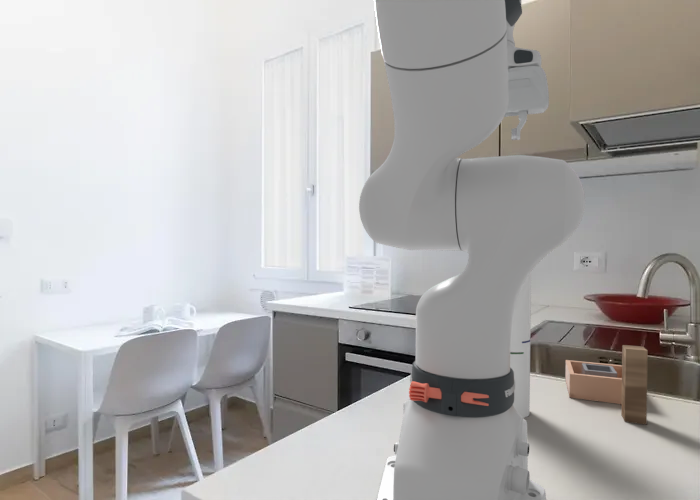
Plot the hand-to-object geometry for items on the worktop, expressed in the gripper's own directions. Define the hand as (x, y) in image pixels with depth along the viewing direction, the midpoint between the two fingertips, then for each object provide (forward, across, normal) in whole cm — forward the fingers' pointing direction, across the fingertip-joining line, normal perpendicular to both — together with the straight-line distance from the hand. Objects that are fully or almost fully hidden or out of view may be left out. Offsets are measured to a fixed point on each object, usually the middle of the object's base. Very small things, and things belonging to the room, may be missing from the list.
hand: (488, 141), depth 81 cm
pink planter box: (+48, +20, +13) cm, 54 cm away
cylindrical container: (+48, +4, -4) cm, 48 cm away
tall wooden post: (+48, +24, 0) cm, 53 cm away
